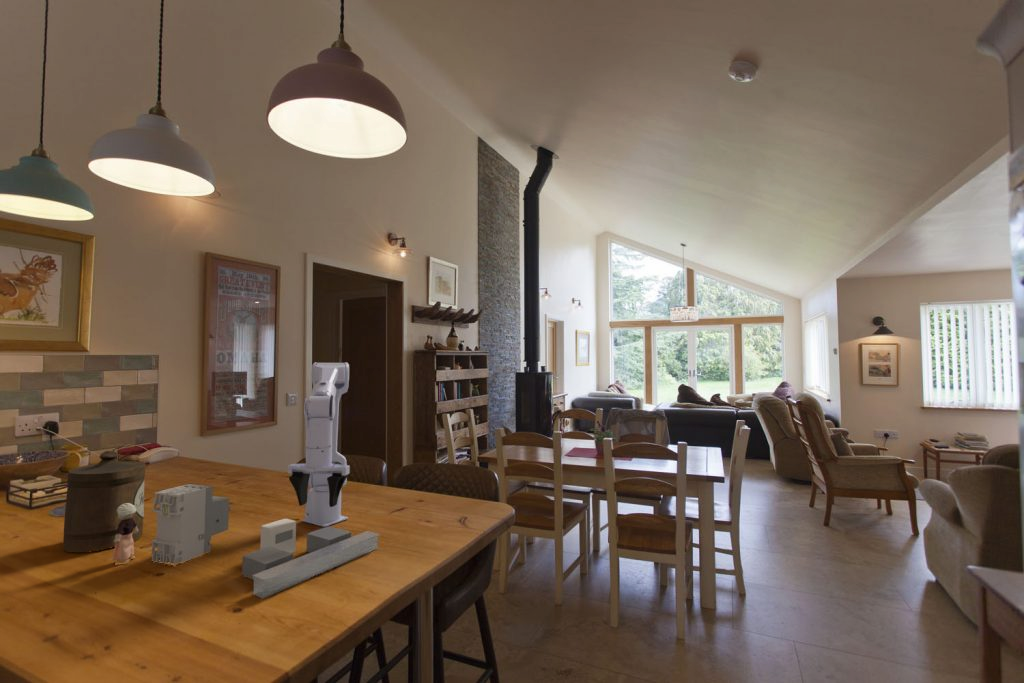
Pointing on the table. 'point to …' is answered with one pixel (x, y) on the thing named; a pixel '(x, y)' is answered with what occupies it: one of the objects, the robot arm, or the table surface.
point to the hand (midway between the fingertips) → (318, 505)
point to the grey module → (279, 535)
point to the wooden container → (101, 502)
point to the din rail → (313, 564)
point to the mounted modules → (275, 556)
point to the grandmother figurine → (125, 534)
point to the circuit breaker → (187, 522)
